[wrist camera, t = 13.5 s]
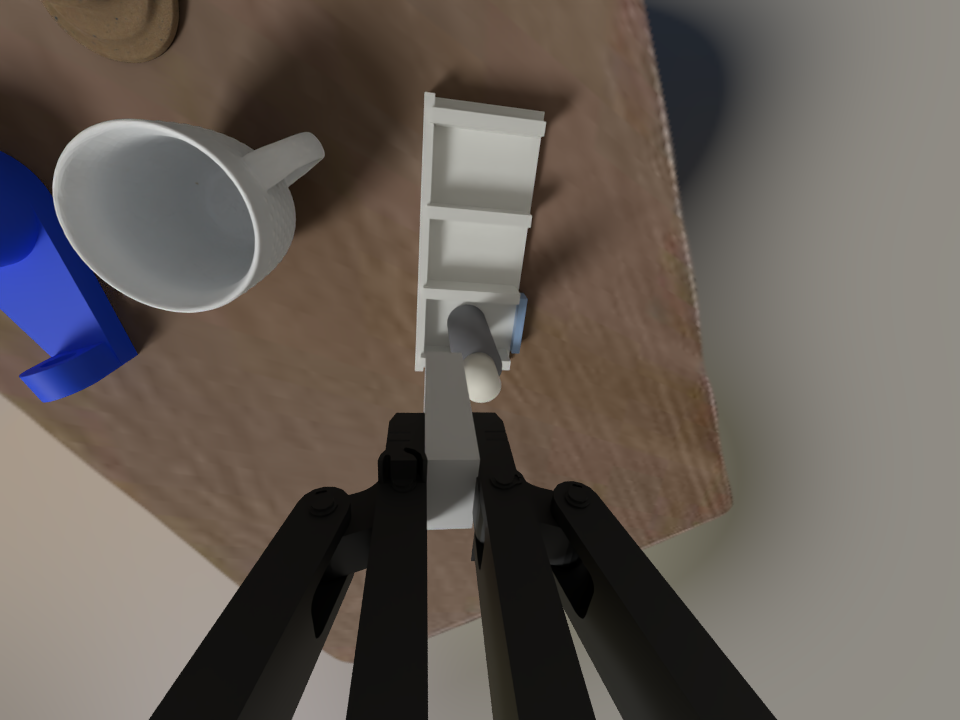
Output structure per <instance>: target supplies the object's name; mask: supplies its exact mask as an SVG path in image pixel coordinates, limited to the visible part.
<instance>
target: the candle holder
mask: <svg viewBox="0 0 960 720" xmlns="http://www.w3.org/2000/svg"><path fill="white" fill-rule="evenodd" d="M41 2H42V3H43V5H44V6H45V8H46V9H47V11H48V12H49V14H50V15H51V16H52V17H53V18H54V20H55V21H56V22H57V23H58V24H59V25H60V26H61V27H62V28H63V29H64V30H65V31H66V32H67V33H68V34H69V35H70V36H71V37H72V38H74V39H75V40H76V41H77V42H79V43H80V44H82V45H83V46H85V47H86V48H88V49H89V50H91V51H93V52H95V53H97V54H99V55H101V56H104V57H106V58H110V59H113V60H116V61H121V62H127V63H141V62H146V61H150V60H152V59H155V58H157V57H158V56H160V55H161V54H162V53H164V52H165V51H166V49H167V48H168V47H169V46H170V45H171V43H172V41H173V39H174V37H175V34H176V31H177V28H178V21H179V3H178V0H41Z"/></svg>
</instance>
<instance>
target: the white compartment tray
mask: <svg viewBox="0 0 960 720" xmlns="http://www.w3.org/2000/svg"><path fill="white" fill-rule="evenodd" d="M544 114H545V112H543V111H535V110H528V109H521V108H513V107H506V106H498V105H491V104H484V103H476V102H469V101H461V100H454V99H446V98H439V97H435V93H429V92H425V95H424V124H423V154H422V183H421V212H420V241H419V271H418V300H417V329H416V359H415V371H423V367H425V357H426V352H451V350H450V342H449V335H448V327H447V319H448V316H449V314H450V313H451V312H452V310H453V309H455V308H456V307H458V306H460V305H465V304H469V305H474V306H476V307H478V308H479V309H480V310H481V311H482V312H483V314H484V316H485V318H486V321H487V323H488V326H489V329H490V331H491V334H492V337H493V339H494V342H495V345H496V347H497V350H498V353H499V355H500V358H501V361H502V370H509V369H510V362H511V361H510V359H509V353H510V350H511V352H512V353H519V351H520V345H521V339H522V332H523V326H524V320H525V313H526V307H527V301H528V299H527V297H526V296H525V294H524V293H519V285H520V278H521V271H522V264H523V257H524V250H525V244H526V237H527V230H528V228H531V221H532V215H530V209H531V203H532V196H533V189H534V182H535V175H536V168H537V162H538V155H539V148H540V141H541V137H543V136H544V134H545V127H546V122H544Z"/></svg>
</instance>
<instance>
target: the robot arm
mask: <svg viewBox="0 0 960 720" xmlns="http://www.w3.org/2000/svg"><path fill="white" fill-rule="evenodd" d="M473 522H474V530H475V532H474V540H473V548H472V557H471V561H475V565H476V573H477V582H478V591H479V600H480V608H481V617H482V626H483V634H484V643H485V652H486V661H487V669H488V678H489V687H490V695H491V704H492V713H493V720H596V718H595V715H594V712H593V708H592V705H591V701H590V698H589V694H588V691H587V688H586V684H585V681H584V678H583V674H582V671H581V667H580V664H579V660H578V657H577V654H576V650H575V647H574V644H573V640H572V637H571V634H570V630H569V627H568V623H567V620H566V616H565V613H564V610H565V612H566V614H567V615H568V617H569V619H570V621H571V623H572V625H573V627H574V629H575V630H576V632H577V634H578V636H579V638H580V640H581V642H582V644H583V645H584V647H585V649H586V651H587V653H588V655H589V657H590V658H591V660H592V662H593V664H594V666H595V668H596V670H597V672H598V673H599V675H600V677H601V679H602V681H603V683H604V685H605V686H606V688H607V690H608V692H609V694H610V696H611V698H612V700H613V701H614V703H615V705H616V707H617V709H618V711H619V713H620V714H621V716H622V718H623V720H777V719H776V718H775V716H774V715H773V714H772V713H771V711H770V710H769V709H768V708H767V707H766V705H765V704H764V703H763V701H762V700H761V699H760V698H759V696H758V695H757V694H756V693H755V691H754V690H753V689H752V688H751V687H750V685H749V684H748V683H747V682H746V680H745V679H744V678H743V677H742V675H741V674H740V673H739V671H738V670H737V669H736V668H735V667H734V665H733V664H732V663H731V661H730V660H729V659H728V658H727V657H726V655H725V654H724V653H723V652H722V650H721V649H720V648H719V647H718V645H717V644H716V643H715V641H714V640H713V639H712V638H711V636H710V635H709V634H708V633H707V631H706V630H705V629H704V628H703V626H702V625H701V624H700V623H699V621H698V620H697V619H696V618H695V616H694V615H693V614H692V613H691V611H690V610H689V609H688V608H687V606H686V605H685V604H684V603H683V601H682V600H681V599H680V598H679V597H678V595H677V594H676V593H675V591H674V590H673V589H672V588H671V587H670V585H669V584H668V582H667V581H666V580H665V579H664V578H663V576H662V575H661V574H660V573H659V571H658V570H657V569H656V568H655V566H654V565H653V564H652V562H651V561H650V560H649V559H648V557H647V556H646V555H645V554H644V552H643V551H642V550H641V549H640V547H639V546H638V545H637V544H636V542H635V541H634V540H633V539H632V537H631V536H630V535H629V534H628V532H627V531H626V530H625V529H624V527H623V526H622V525H621V524H620V522H619V521H618V520H617V519H616V517H615V516H614V515H613V514H612V512H611V511H610V510H609V509H608V507H607V506H606V505H605V504H604V502H603V501H602V500H601V499H600V497H599V496H598V495H597V494H596V493H595V492H594V491H593V490H592V489H591V488H590V487H588V486H586V485H584V484H582V483H578V482H574V481H567V482H563V483H560V484H558V485H557V486H556V488H555V489H554V491H552V490H548V489H544V488H540V487H537V486H534V485H531V484H530V483H528V482H526V480H525V479H524V477H523V475H522V474H521V473H520V472H518V471H517V470H516V467H515V463H514V460H513V456H512V452H511V449H510V445H509V442H508V438H507V434H506V433H505V427H504V424H503V421H502V420H501V419H500V418H499V417H498V415H497V414H496V413H479V412H472V410H471V404H470V398H469V392H468V387H467V381H466V375H465V369H464V363H463V357H462V353H451V352H426V357H425V387H424V413H396V414H395V415H394V417H393V418H392V419H391V420H390V421H389V428H388V436H387V443H386V450H385V451H384V452H383V453H382V454H381V455H380V457H379V459H378V482H377V483H376V484H374V485H373V486H372V487H370V488H368V489H367V490H364V491H361V492H358V493H355V494H351V495H348V494H347V493H346V492H345V491H344V490H342V489H339V488H336V487H322V488H318V489H314V490H312V491H311V492H309V493H307V494H305V495H304V496H303V497H302V498H301V499H300V500H299V501H298V503H297V504H296V506H295V507H294V509H293V510H292V512H291V513H290V514H289V516H288V517H287V519H286V520H285V522H284V523H283V525H282V526H281V528H280V529H279V530H278V532H277V533H276V535H275V536H274V538H273V539H272V541H271V542H270V544H269V545H268V547H267V548H266V549H265V551H264V552H263V554H262V555H261V557H260V558H259V560H258V561H257V563H256V564H255V565H254V567H253V568H252V570H251V571H250V573H249V574H248V576H247V577H246V579H245V580H244V582H243V583H242V584H241V586H240V587H239V589H238V590H237V592H236V593H235V595H234V596H233V598H232V599H231V601H230V602H229V604H228V605H227V607H226V608H225V609H224V611H223V612H222V614H221V615H220V617H219V618H218V619H217V621H216V623H215V624H214V625H213V627H212V628H211V630H210V631H209V633H208V634H207V636H206V637H205V638H204V640H203V641H202V643H201V645H200V646H199V647H198V649H197V650H196V652H195V653H194V655H193V656H192V657H191V659H190V660H189V662H188V663H187V665H186V666H185V668H184V669H183V671H182V672H181V673H180V675H179V676H178V678H177V679H176V681H175V682H174V684H173V685H172V687H171V688H170V690H169V691H168V692H167V694H166V695H165V697H164V699H163V700H162V701H161V703H160V704H159V706H158V707H157V709H156V710H155V711H154V713H153V714H152V716H151V717H150V719H149V720H292V717H293V715H294V713H295V710H296V708H297V706H298V703H299V701H300V699H301V697H302V694H303V692H304V690H305V687H306V685H307V683H308V680H309V678H310V675H311V673H312V671H313V669H314V666H315V664H316V662H317V659H318V657H319V655H320V652H321V650H322V648H323V646H324V643H325V641H326V639H327V636H328V634H329V632H330V629H331V627H332V625H333V622H334V620H335V618H336V615H337V613H338V611H339V608H340V606H341V604H342V601H343V599H344V597H345V595H346V592H347V590H348V588H349V585H350V583H351V581H352V578H353V576H354V573H355V572H357V571H360V570H363V569H366V568H367V571H366V578H365V585H364V592H363V600H362V607H361V614H360V621H359V629H358V636H357V643H356V650H355V657H354V665H353V672H352V679H351V687H350V694H349V702H348V709H347V715H346V720H428V653H427V652H428V650H427V649H428V644H427V643H428V642H427V641H428V632H427V530H433V529H463V528H472V523H473ZM563 608H564V609H563Z"/></svg>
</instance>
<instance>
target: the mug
mask: <svg viewBox="0 0 960 720" xmlns="http://www.w3.org/2000/svg"><path fill="white" fill-rule="evenodd" d="M324 156H325V152H324V149H323V147H322V145H321V143H320V141H319V140H318V139H317V137H316V136H314V135H313V134H312V133H310V132H303V133H299V134H295V135H293V136H290V137H287V138H285V139H282V140H279V141H277V142H274V143H272V144H269V145H266V146H263V147H261V148H258V149H256V150H253V149H251V148H250V147H249V146H247V145H246V144H244V143H241V142H239V141H238V140H236V139H234V138H232V137H228V136H227V135H225V134H222V133H218V132H215V131H213V130H210V129H204V128H202V127H200V126H192V125H189V124H179V123H175V122H164V121H159V120H156V121H151V120H143V119H116V120H110V121H105V122H101V123H98V124H95V125H93V126H91V127H89V128H87V129H85V130H83V131H82V132H80V133H79V134H78V135H76V136H75V137H74V138H73V139H72V140H71V141H70V142H69V143H68V144H67V146H66V147H65V149H64V150H63V152H62V154H61V156H60V157H59V159H58V162H57V165H56V168H55V172H54V177H53V186H52V189H53V201H54V206H55V211H56V214H57V217H58V220H59V223H60V225H61V227H62V229H63V231H64V234H65V235H66V237H67V239H68V241H69V242H70V244H71V245H72V247H73V249H74V250H75V251H76V252H77V254H78V255H79V256H80V258H81V259H82V260H83V261H84V262H85V263H86V264H87V265H88V267H89V268H90V269H91V270H92V271H94V272H95V273H96V274H97V275H98V276H99V277H100V278H101V279H103V280H104V281H105V282H107V283H108V284H109V285H111V286H112V287H113V288H115V289H116V290H118V291H120V292H121V293H123V294H125V295H126V296H128V297H130V298H132V299H134V300H136V301H138V302H141V303H143V304H146V305H149V306H152V307H155V308H158V309H163V310H167V311H173V312H185V313H192V312H202V311H207V310H212V309H215V308H218V307H221V306H223V305H226V304H228V303H230V302H231V301H233V300H234V299H236V298H237V297H239V296H240V295H242V294H243V293H246V292H247V291H248V289H250V288H251V287H254V286H255V285H256V284H257V283H258V282H259V281H261V280H263V278H264V277H265V276H266V275H268V274H270V272H271V271H272V270H273V269H275V267H276V266H277V264H278V263H280V262H281V261H282V259H283V256H285V255H286V253H287V252H288V248H289V247H290V245H291V242H292V240H293V236H294V231H295V227H296V225H295V224H296V212H295V206H294V202H293V198H292V196H291V192H290V190H289V188H288V187H289V186H290V185H291V184H293V183H294V182H295V181H296V180H298V179H299V178H300V177H302V176H303V175H305V174H306V173H307V172H308V171H309V170H310V169H312V168H313V167H314V166H315V165H316V164H317V163H319V162H320V161H321V160H322V159H323V158H324Z"/></svg>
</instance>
